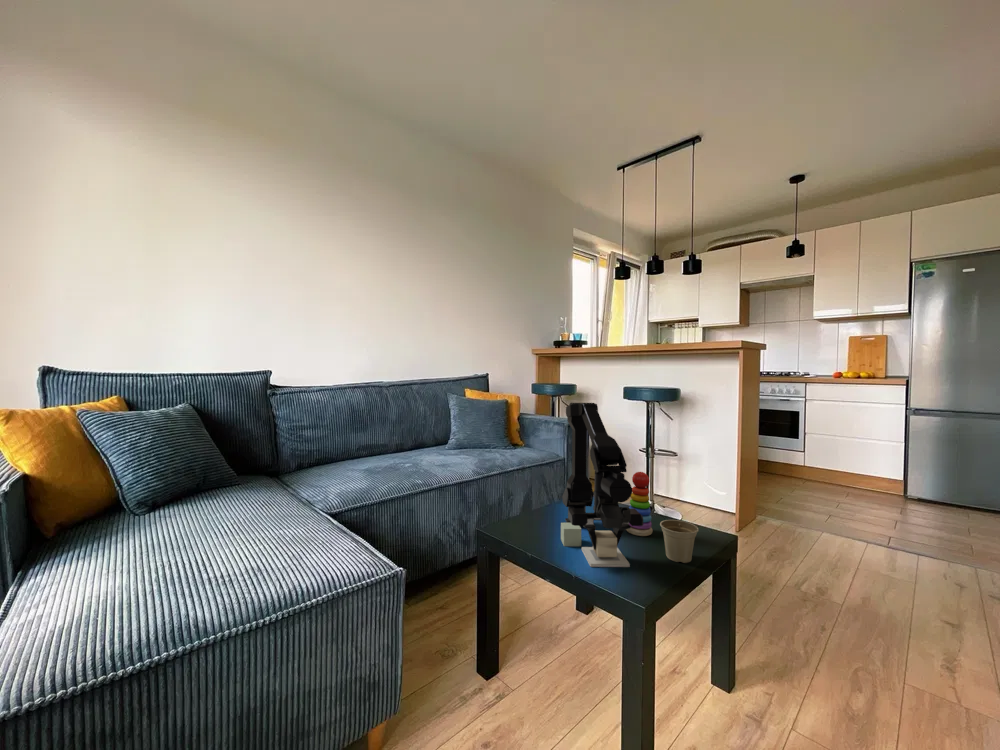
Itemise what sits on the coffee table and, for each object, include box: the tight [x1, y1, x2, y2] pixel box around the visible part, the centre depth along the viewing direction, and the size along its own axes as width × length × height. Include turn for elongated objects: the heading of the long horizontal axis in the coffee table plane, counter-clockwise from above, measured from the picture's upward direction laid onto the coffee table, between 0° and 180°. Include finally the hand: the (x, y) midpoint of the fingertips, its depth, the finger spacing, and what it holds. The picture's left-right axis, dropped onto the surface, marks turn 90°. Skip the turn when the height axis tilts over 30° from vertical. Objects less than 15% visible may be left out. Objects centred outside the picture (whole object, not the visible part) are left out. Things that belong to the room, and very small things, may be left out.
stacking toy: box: [625, 471, 654, 537], centre depth 127 cm, size 8×8×19 cm
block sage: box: [560, 522, 582, 547], centre depth 118 cm, size 5×5×5 cm
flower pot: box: [659, 519, 699, 564], centre depth 109 cm, size 9×9×9 cm
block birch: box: [593, 530, 618, 557], centre depth 108 cm, size 5×5×5 cm
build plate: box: [581, 546, 631, 568], centre depth 108 cm, size 10×10×1 cm
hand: (604, 548), depth 108 cm, fingers closed on block birch, 5 cm apart
